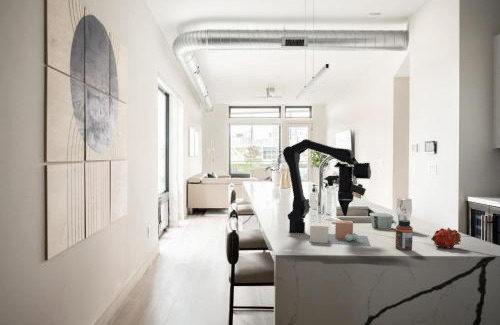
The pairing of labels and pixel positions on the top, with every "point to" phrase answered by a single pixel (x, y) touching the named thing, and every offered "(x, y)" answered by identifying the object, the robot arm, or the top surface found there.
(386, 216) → the food container
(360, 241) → the mat
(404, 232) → the supplement bottle
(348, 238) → the marble
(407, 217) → the beer glass
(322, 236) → the ivory rectangular chunk
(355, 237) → the marble
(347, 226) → the salmon pink cube
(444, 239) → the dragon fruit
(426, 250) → the top surface
